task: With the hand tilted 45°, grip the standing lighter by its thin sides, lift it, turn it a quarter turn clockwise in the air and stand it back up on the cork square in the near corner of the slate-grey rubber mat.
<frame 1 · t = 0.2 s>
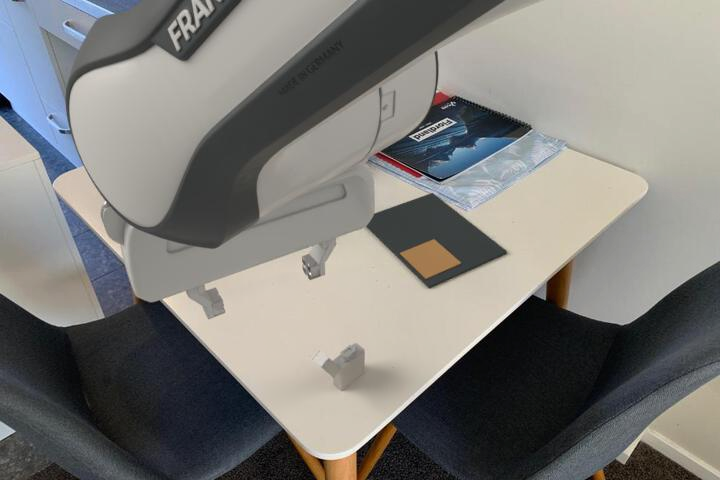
hand: (266, 292, 46), 23 cm above the table, tool pointing down, fingers open, 8 cm apart
protein box: (192, 218, 93), on the table
rectangular plant pot: (323, 157, 109), on the table
chess piece: (276, 208, 95), on the table
lighter: (340, 385, 66), on the table
mat: (430, 236, 89), on the table
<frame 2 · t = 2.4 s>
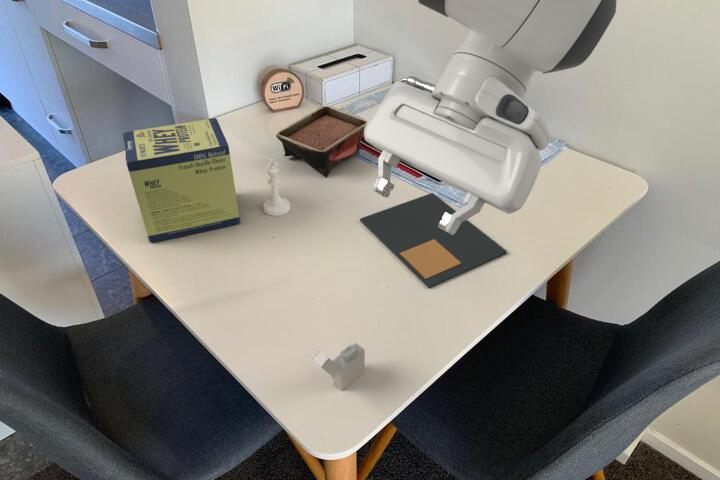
hand: (410, 211, 58), 21 cm above the table, tool tilted 40°, fingers open, 8 cm apart
nothing on the table moved.
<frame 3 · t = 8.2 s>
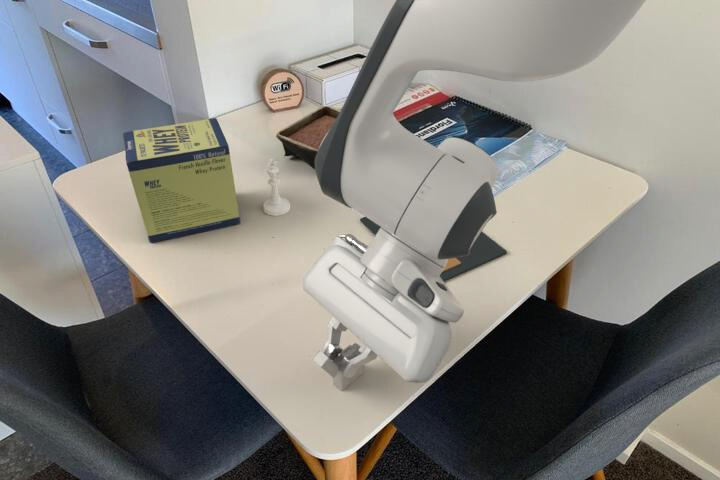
hand: (335, 365, 62), 4 cm above the table, tool tilted 45°, fingers closed on lighter, 2 cm apart
lighter: (340, 385, 66), on the table, touching gripper
everything else where it was.
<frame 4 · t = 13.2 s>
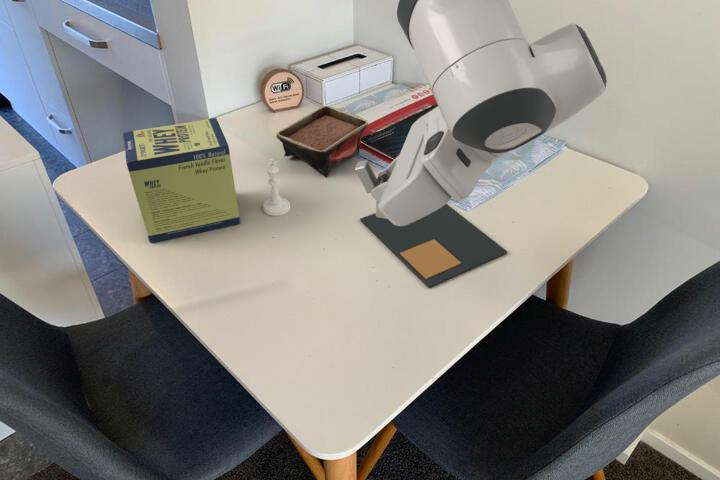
hand: (378, 187, 69), 17 cm above the table, tool tilted 45°, fingers closed on lighter
lighter: (380, 214, 72), point 13 cm above the table, touching gripper
everything else where it was.
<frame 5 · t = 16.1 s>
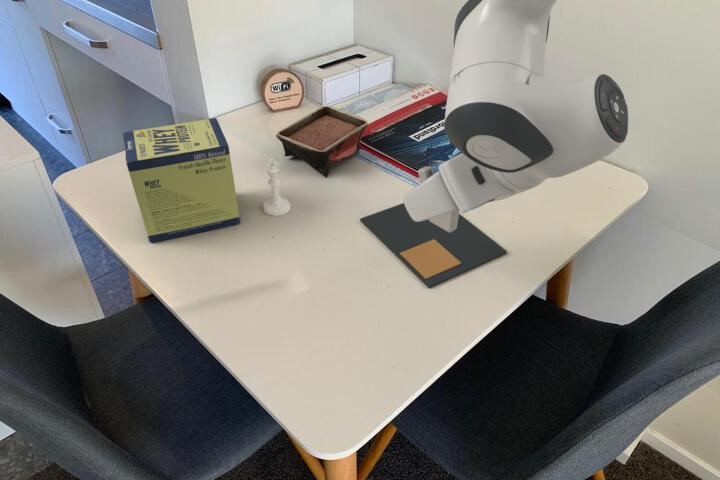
hand: (435, 194, 76), 13 cm above the table, tool tilted 45°, fingers closed on lighter
lighter: (434, 220, 79), point 8 cm above the table, touching gripper
everything else where it was.
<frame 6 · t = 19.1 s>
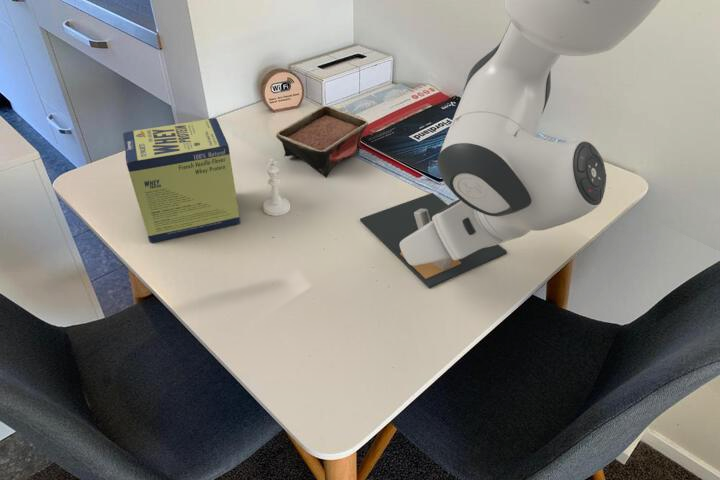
hand: (429, 234, 81), 5 cm above the table, tool tilted 45°, fingers open, 8 cm apart
lighter: (430, 258, 84), point 1 cm above the table, touching mat
everything else where it was.
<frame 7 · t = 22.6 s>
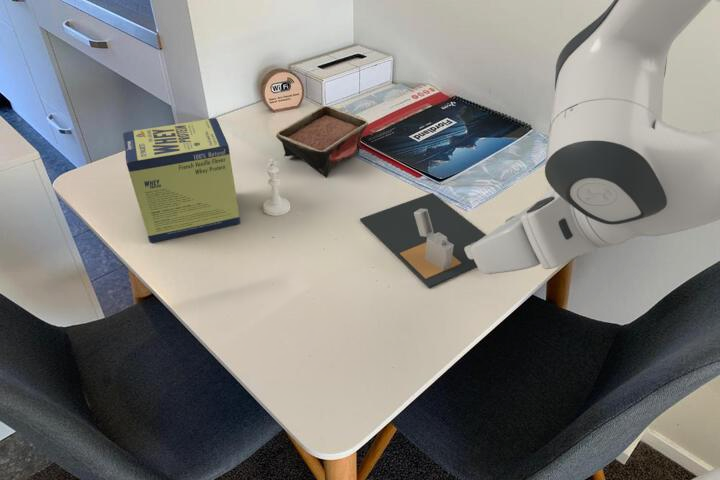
hand: (490, 237, 70), 12 cm above the table, tool tilted 50°, fingers open, 8 cm apart
nothing on the table moved.
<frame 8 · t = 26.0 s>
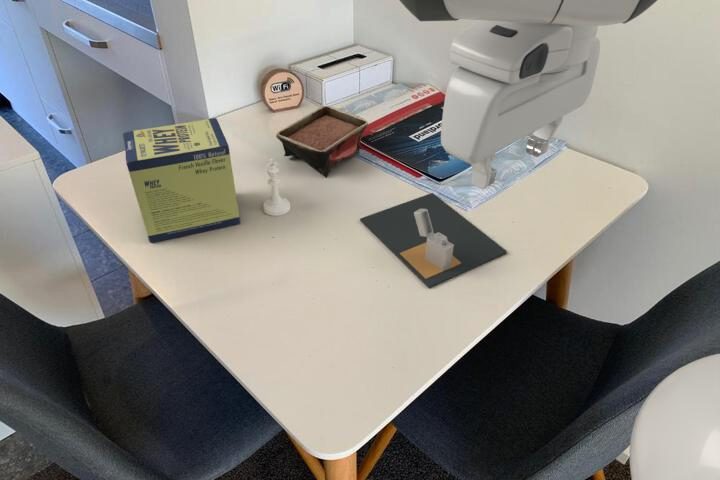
hand: (510, 168, 54), 27 cm above the table, tool pointing down, fingers open, 8 cm apart
nothing on the table moved.
at the end: lighter inside the target area on the mat (0.0 cm from its centre), point 0.5 cm above the mat's base; lighter tilted 0° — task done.
